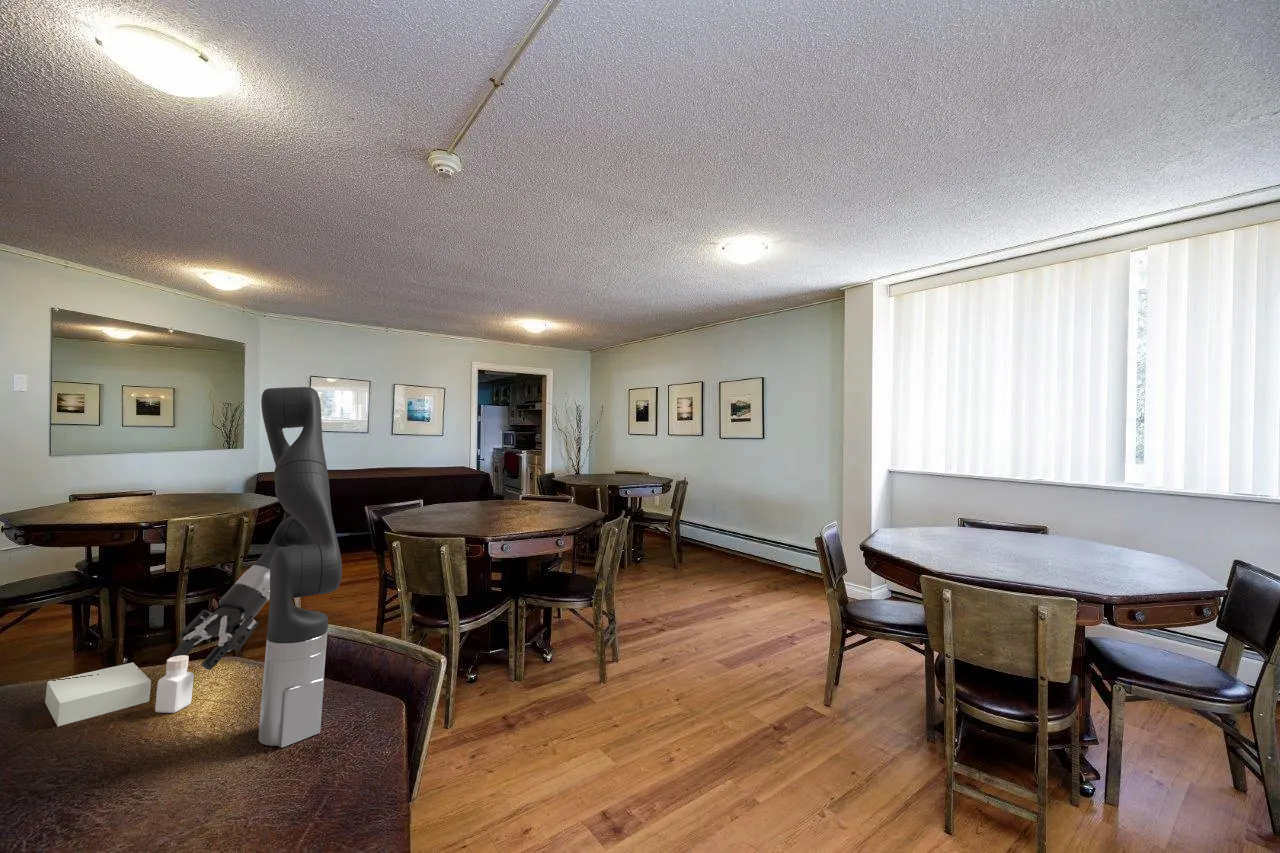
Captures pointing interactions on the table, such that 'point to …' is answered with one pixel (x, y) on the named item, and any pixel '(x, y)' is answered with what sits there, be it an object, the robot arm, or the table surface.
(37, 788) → the table surface
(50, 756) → the table surface
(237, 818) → the table surface
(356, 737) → the table surface
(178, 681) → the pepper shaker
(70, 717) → the platform
